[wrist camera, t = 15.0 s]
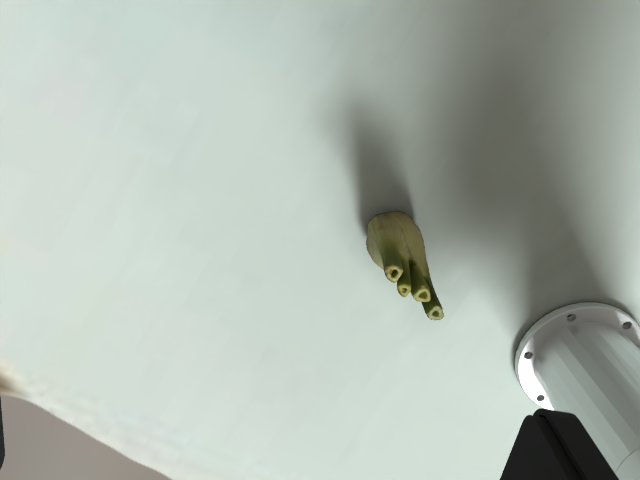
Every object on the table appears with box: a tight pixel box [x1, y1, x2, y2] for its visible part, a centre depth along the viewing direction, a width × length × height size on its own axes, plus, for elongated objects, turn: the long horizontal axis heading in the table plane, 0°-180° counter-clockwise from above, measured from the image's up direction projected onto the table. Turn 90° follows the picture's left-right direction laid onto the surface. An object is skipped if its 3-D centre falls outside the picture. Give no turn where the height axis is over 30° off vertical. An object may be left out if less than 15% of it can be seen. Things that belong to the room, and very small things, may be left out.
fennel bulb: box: [366, 211, 444, 320], centre depth 40 cm, size 6×5×12 cm
